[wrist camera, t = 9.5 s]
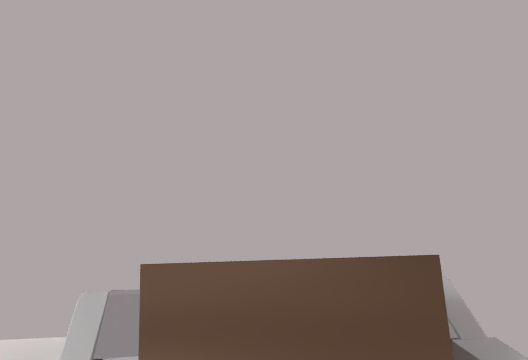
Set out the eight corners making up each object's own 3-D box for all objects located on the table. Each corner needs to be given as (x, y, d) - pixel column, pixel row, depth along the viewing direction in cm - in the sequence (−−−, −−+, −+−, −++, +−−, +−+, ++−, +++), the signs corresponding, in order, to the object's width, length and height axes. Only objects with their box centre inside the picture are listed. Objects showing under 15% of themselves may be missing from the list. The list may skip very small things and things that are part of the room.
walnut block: (472, 504, 6) (439, 255, 7) (134, 535, 5) (140, 264, 6) (260, 350, 31) (258, 301, 32) (196, 354, 30) (196, 304, 31)
